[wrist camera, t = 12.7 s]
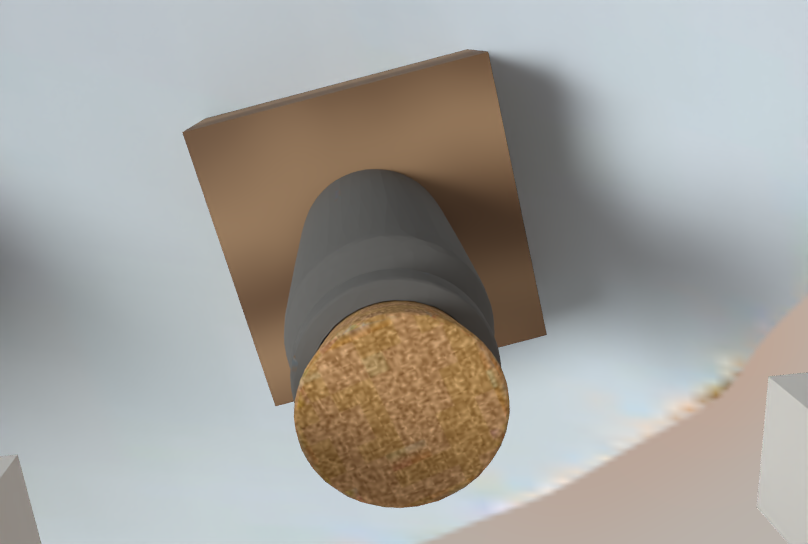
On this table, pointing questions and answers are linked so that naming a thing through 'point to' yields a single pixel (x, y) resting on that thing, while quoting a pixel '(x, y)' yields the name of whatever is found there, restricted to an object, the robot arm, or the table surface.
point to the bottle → (391, 346)
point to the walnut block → (359, 150)
